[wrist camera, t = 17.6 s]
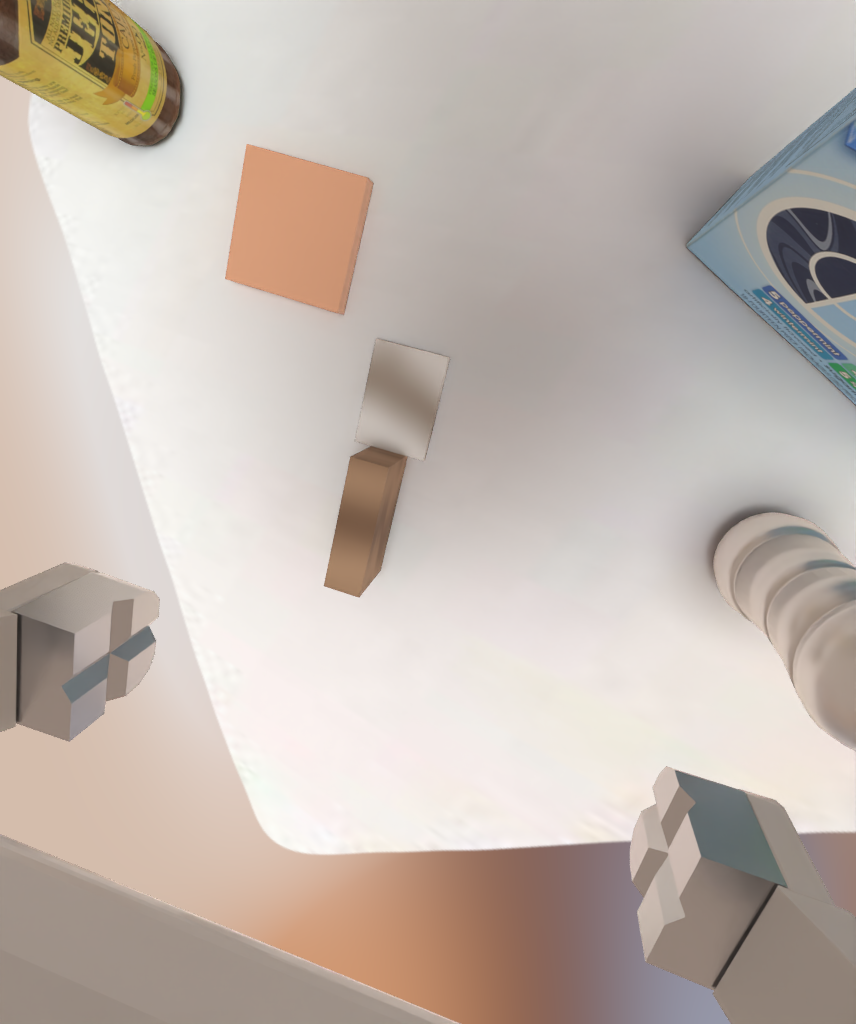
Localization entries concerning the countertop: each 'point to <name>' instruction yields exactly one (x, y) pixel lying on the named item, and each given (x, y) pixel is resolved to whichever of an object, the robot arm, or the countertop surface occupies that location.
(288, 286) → the tile
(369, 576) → the turner
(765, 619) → the plastic bottle
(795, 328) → the gum box
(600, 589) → the countertop surface
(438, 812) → the countertop surface
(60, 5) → the sauce bottle
